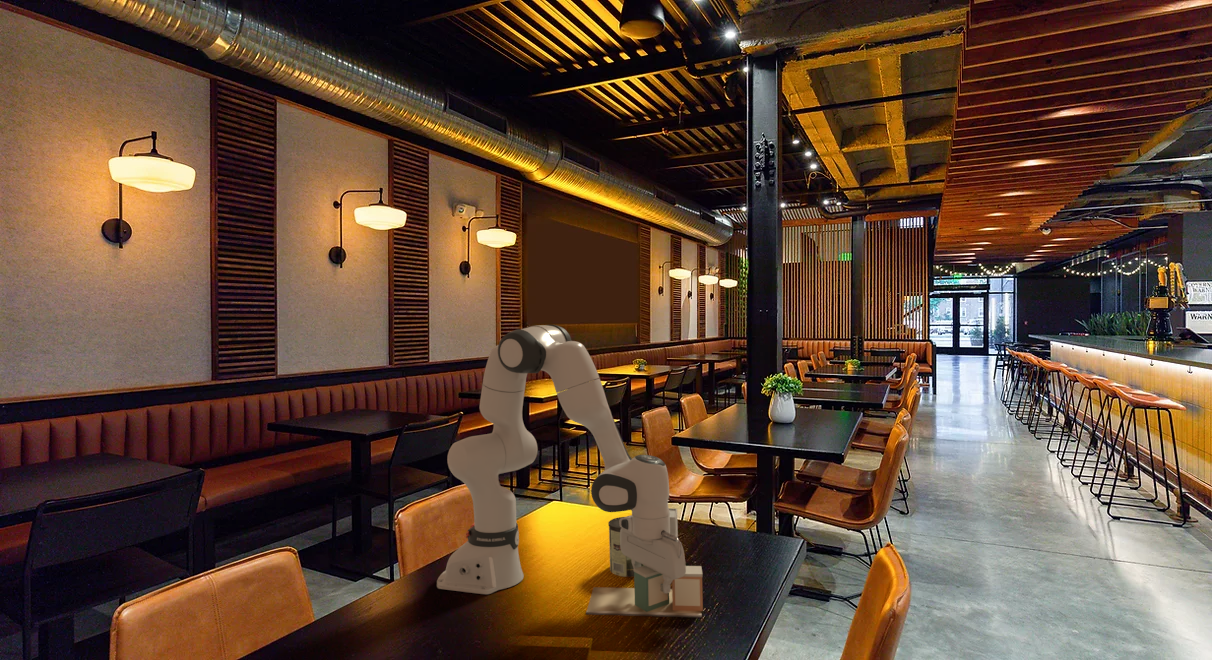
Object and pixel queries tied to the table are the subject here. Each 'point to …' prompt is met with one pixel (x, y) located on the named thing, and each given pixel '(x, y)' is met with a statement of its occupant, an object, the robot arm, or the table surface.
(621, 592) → the shelf board
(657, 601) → the green tin
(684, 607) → the rust tin
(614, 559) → the coffee can
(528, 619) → the table surface
